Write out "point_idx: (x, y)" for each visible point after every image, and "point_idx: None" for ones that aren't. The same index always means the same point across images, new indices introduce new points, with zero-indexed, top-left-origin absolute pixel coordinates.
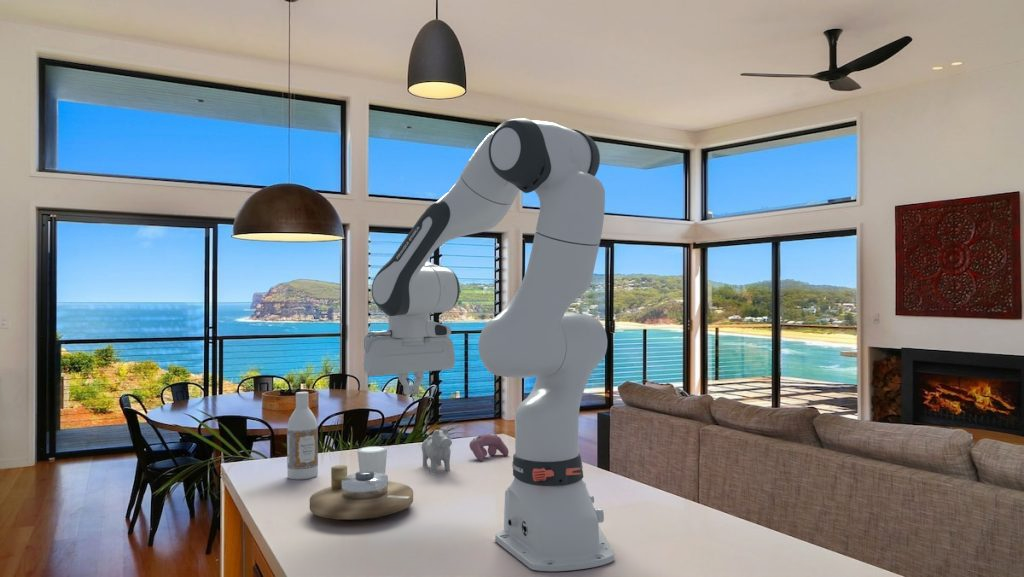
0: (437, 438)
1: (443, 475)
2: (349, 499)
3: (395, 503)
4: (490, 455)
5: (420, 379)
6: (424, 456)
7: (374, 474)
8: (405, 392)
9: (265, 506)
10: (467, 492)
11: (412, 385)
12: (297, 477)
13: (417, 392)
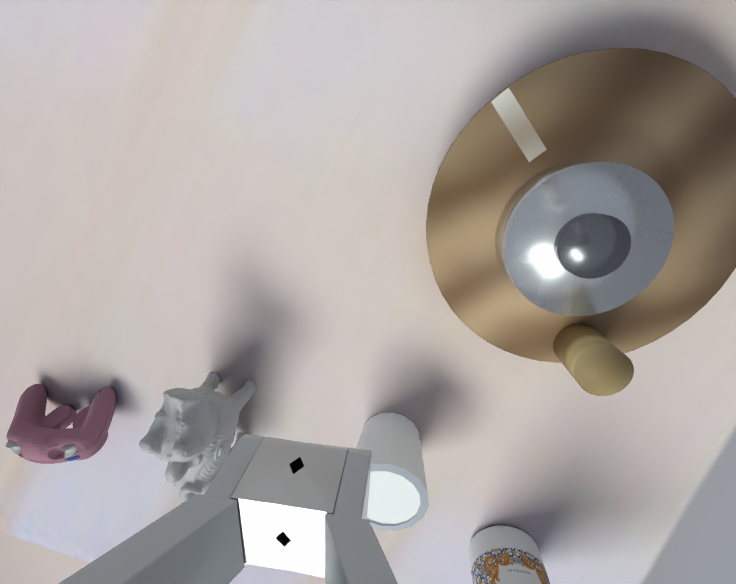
0: (197, 423)
1: (241, 349)
2: None
3: (570, 59)
4: (75, 410)
5: (138, 558)
6: None
7: (533, 264)
8: (369, 485)
9: (705, 414)
10: (261, 178)
11: (265, 541)
12: (529, 538)
13: (261, 438)
